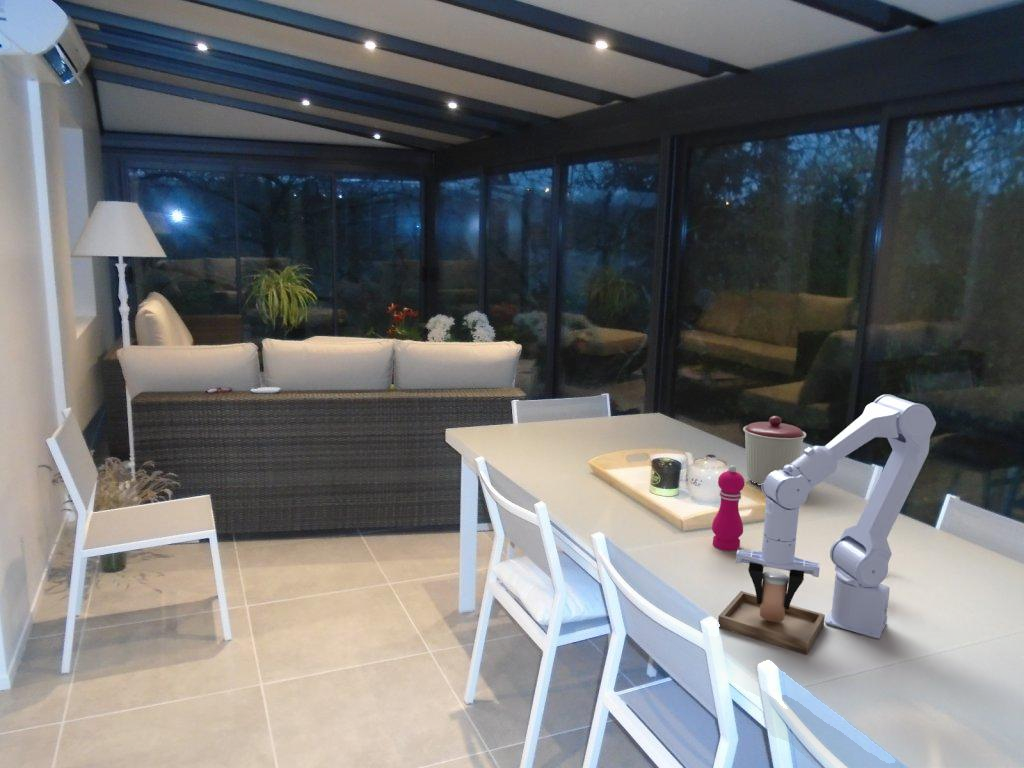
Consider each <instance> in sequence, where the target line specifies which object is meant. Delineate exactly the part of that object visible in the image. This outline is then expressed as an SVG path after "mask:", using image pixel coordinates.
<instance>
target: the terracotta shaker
mask: <svg viewBox="0 0 1024 768" xmlns="http://www.w3.org/2000/svg"><path fill="white" fill-rule="evenodd" d="M788 584H789V575H787V574H785V573H782V572H779V571H773V570H767V571H763V577H762V594H761V605H760V616H761V617H762V618H763V619H765V620H768V621H772V622H780V621H783V620H784V616H785V602H786V596H787V590H788Z"/></svg>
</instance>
